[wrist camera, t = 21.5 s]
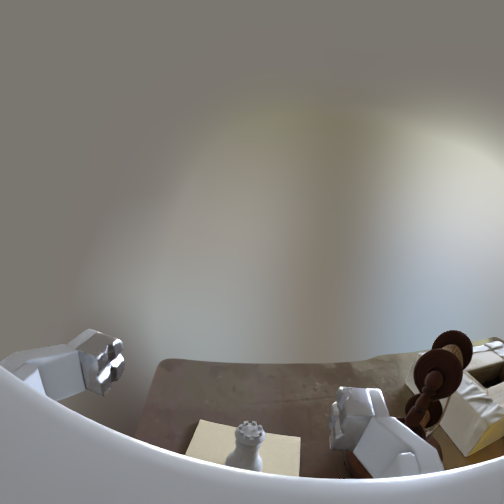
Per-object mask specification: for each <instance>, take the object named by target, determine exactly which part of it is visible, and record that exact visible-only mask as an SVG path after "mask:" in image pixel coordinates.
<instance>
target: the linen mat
mask: <svg viewBox="0 0 504 504" xmlns="http://www.w3.org/2000/svg"><path fill="white" fill-rule="evenodd" d="M235 430H236V427H231V426H226V425H221V424H217V423H213V422H208V421H204V420H200V422H199V424H198V426H197V428H196V431H195V433H194V435H193V438H192V440H191V442H190V445H189V447H188V449H187V452H186V454H185V456H189V457H192V458H196V459H200V460H204V461H208V462H212V463H216V464H220V465H224V463H225V461H226V458H227V456H228V454H229V453H231V452H232V451H233V450H235V448H236V444H235V440H236V437H235ZM265 436H266V437H265V440H264V441H263V442H262V443H261V447H260V448H259V449H258V454H259V456H260V458H261V460H262V470H261V472H263V473H270V474H277V475H285V476H295V477H299V461H300V437H292V436H284V435H276V434H270V433H265Z"/></svg>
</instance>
